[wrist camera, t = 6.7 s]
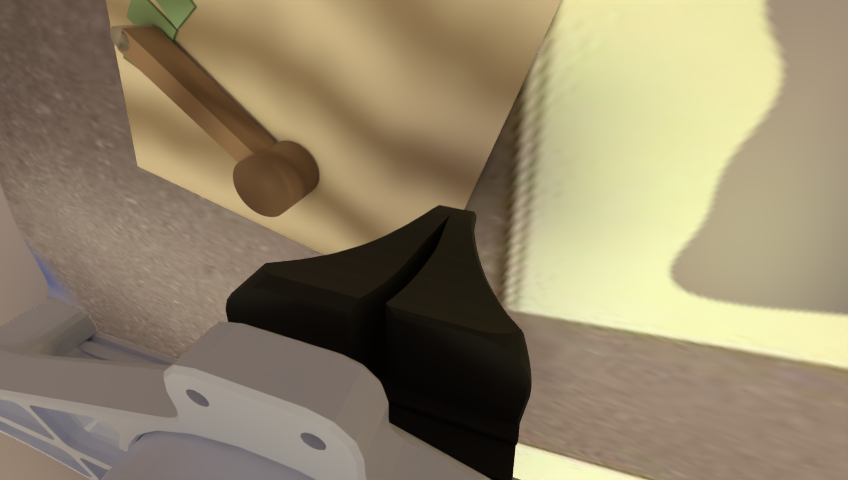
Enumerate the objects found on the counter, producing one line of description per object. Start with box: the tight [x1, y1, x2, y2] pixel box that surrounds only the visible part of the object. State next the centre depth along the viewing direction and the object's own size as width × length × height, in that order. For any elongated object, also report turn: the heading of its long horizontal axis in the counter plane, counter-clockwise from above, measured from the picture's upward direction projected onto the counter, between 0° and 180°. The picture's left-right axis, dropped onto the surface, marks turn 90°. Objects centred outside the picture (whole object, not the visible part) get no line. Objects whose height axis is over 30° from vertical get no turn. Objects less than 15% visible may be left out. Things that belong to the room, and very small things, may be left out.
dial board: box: [106, 0, 561, 255], centre depth 21 cm, size 22×24×1 cm
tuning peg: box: [110, 24, 318, 217], centre depth 21 cm, size 13×4×3 cm, turn 46°
